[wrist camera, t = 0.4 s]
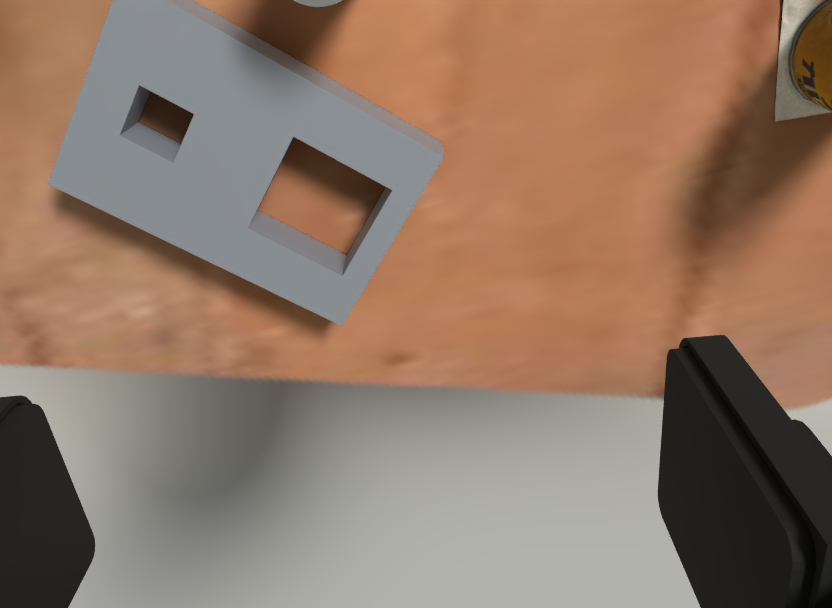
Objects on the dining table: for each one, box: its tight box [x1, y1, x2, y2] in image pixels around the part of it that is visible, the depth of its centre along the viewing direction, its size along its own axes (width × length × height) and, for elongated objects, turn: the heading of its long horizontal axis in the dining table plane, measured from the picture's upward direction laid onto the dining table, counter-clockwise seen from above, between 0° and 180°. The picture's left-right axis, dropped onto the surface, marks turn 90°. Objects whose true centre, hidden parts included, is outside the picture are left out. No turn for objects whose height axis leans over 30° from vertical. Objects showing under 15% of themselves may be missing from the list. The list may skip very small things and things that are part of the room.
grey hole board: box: [48, 0, 444, 326], centre depth 41 cm, size 18×12×3 cm, turn 60°
